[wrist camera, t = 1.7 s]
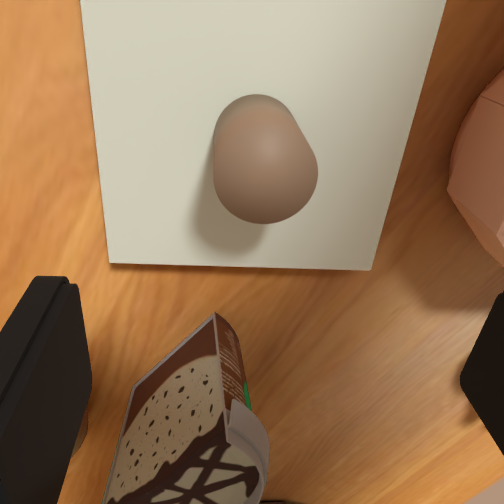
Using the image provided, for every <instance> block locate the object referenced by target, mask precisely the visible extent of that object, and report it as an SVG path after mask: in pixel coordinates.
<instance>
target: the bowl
mask: <svg viewBox="0 0 504 504" xmlns="http://www.w3.org/2000/svg"><path fill="white" fill-rule="evenodd" d="M447 192H448V194H449V195H450V197H451V198H452V200H453V202H454V203H455V205H456V207H457V209H458V211H459V212H460V214H461V215H462V216H463V217H464V219H465V220H466V222H467V223H468V225H469V227H470V228H471V230H472V231H473V233H474V234H475V236H476V237H477V239H478V241H479V242H480V244H481V245H482V247H483V248H484V249H485V250H486V251H487V252H488V253H489V254H490V255H491V256H492V257H493V258H494V259H495V260H496V261H497V262H498V263H499V264H500V265H501V266H502V267H503V268H504V69H503V70H502V71H501V72H500V73H499V74H498V75H497V76H496V77H495V78H494V79H493V80H492V81H491V82H490V83H489V84H488V85H487V86H486V87H485V89H484V90H483V91H482V92H481V94H480V95H479V96H478V97H477V99H476V100H475V102H474V103H473V105H472V106H471V108H470V109H469V111H468V112H467V114H466V116H465V118H464V120H463V122H462V124H461V126H460V128H459V131H458V133H457V135H456V138H455V141H454V144H453V148H452V152H451V156H450V163H449V184H448V187H447Z"/></svg>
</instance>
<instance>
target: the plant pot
mask: <svg viewBox="0 0 504 504" xmlns="http://www.w3.org/2000/svg"><path fill="white" fill-rule="evenodd" d="M259 504H286V503H284V502H266V503H259Z"/></svg>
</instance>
